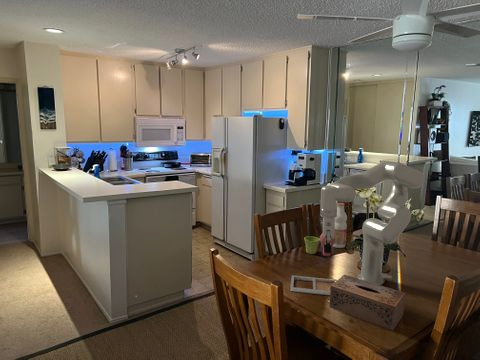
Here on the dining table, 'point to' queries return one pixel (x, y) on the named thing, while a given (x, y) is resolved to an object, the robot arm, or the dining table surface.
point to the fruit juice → (340, 227)
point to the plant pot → (311, 244)
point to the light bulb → (324, 243)
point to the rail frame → (319, 285)
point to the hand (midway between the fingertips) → (327, 249)
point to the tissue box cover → (367, 301)
